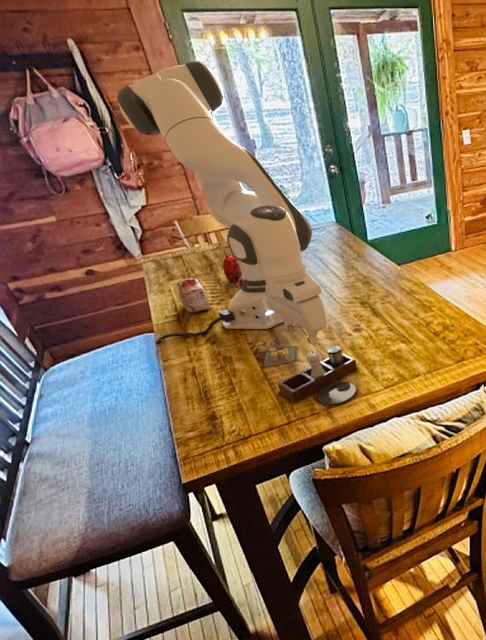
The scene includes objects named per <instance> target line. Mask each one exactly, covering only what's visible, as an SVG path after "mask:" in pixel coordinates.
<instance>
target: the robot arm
mask: <svg viewBox="0 0 486 640" xmlns="http://www.w3.org/2000/svg"><path fill="white" fill-rule="evenodd" d="M116 100H117V102H118V106H119V110H120V113H121V114H122V116H123V118H124V120H125V121H126V122H127V123H128V124H129V125H130V126H131V127H133V129H135V130H137V132H138V133H140V134H141V135H145V136H158V135H161V136H162V137H163V139H164V140H165V142H166V144H167V146H168V147H169V149H170V150H171V152H172V154H173V155H174V157H175V158H176V159H177V161H178V162H179V163H180V164H181V165H182V166H183V167H185V168H186V169H188V170H190V171H191V172H193V174H194V175H195V177H196V178H197V180H198V181H199V184H200V186H201V188H202V191H203V193H204V196H205V199H206V209H207V212H208V214H209V216H210V217H211V218H212V219H213V220H214V221H216V222H217V223H219V224H220V225H222V226H224V227H227V228H229V229H228V232H227V234H226V241H227V245H228V247H229V250H230V252H231V255H233V256H234V257H235V258H236V259H237V260H238V263H239V266H240V269H241V272H242V275H241V278H240V279H239V280H238V281H237V282H236V285H237V287H238V288H239V287H240V290H238V291H237V292H236V293H235V295H234V296H233V297H232V298H231V299H230V301H229V302H228V304H227V309H226V308H224V309H222V310H220V311H217V313H218V316H219V317H218V318H216V319H214V320H213V321H212V322H210V324H209V325H208V327H207V328H205V329H204V330H202V331H198V332H191V331H190V332H189V331H188V332H175V333H174V332H173V333H167V334H164V335H162V336H161V337H159V338H158V339H159V340H158V339H157V340H156V343H155V344H156V345H159V344H161V343H162V342H163V341H164V340H166V339H167V338H175V337H188V336H191V337H198V336H202V335H205V334H207V333H208V332H210V331H211V330H212V329H213V328H214V325H216V324H217V323H219V322H220V321H223V328H224V329H231V330H232V329H233V330H234V329H238V330H240V329H241V330H253V329H254V330H268V329H271V328H273V327H275V326H277V325H279V324H282V323H284V325H285V327H286V330H287V332H289V333H291V334H293V333H296V332H297V331H298V328H297V326H299V327H300V328H303V329H305V331H306V332H307V336H306V340H307V343H308V344H310V345H312V346H313V345H316V344H317V343H319V340H318V339H319V338H318V332H320V331H322V330H324V329H326V327H327V323H328V321H327V318H326V317H327V316H326V311H325V307H324V302H323V300H322V298H321V297H320V295H321V294H322V288H321V285H320V284H319V283H317V282H316V280H315V279H313V277H312V276H311V275H310V273H309V272H307V268H306V265H305V263H304V260H303V259H302V256H301V252H304V251H306V250H307V248H308V247H309V245H310V243H311V240H312V237H313V228H312V226H311V223H310V221H309V219H308V218H307V217H306V215H304V213H302V211H300V209H298V208H297V207H296V205H294V204H293V203H292V202H291V201H290V199H289V198H288V197H287V195H286V194H285V192H284V191H283V190H282V189H281V187H279V185H278V184H277V183H276V181H275V180H274V179H273V178H272V177H271V174H269V173H268V171H267V170H266V169H265V168H264V166H263V165H262V163H261V162H260V161H259V160H258V159H257V158H256V157H255V156H254V155H253V153H252V152H251V151H250V150H248V149H247V148H246V147H243V146H241V145H238V143H236V142H235V141H233V140H232V139H231V138H230V137H228V135H226V133H225V132H224V131H223V130H222V129H221V128H220V127H219V125H218V124H217V122H216V121H215V118H214V117H213V116H212V114H211V113H213V114H214V115H215V114H216V113H217V111H218V110H220V108H222V106H223V104H224V101H225V97H224V90H223V87H222V83H221V82H220V80H219V78H218V77H217V75H216V74H215V73H214V72H213V71H212V70H211V69H210V68H209V67H208V66H207V65H206V64H205V63H203V62H201V61H199V60H192V61H186V62H184V64H180V65H174V66H170V67H168V68H167V67H166V68H164V69H161V70H158V71H156V72H155V73H153V74H150V75H148V76H146V77H144V78H142V79H140V80H138V81H135V82H134V83H132V84H129V83H128V84H126V85H125V86H123V87H122V88H121V89H119V90H118V92H117V96H116ZM242 184H243V185H245V186H246V187H248V188H249V189H250V190H251V191H248V190H246V189H245V188H244V186H243V185H242ZM161 339H162V340H161Z"/></svg>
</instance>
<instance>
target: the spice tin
mask: <svg viewBox="0 0 486 640" xmlns="http://www.w3.org/2000/svg"><path fill="white" fill-rule="evenodd" d="M326 352H327V355H328V358H329V359H330V363H331V367H333V368H334V369H335V368H336V367H338V366H340V365H342V364H344V359H343V354H344V353H343V350H342V347H341V345H333V346H329V347H328V348H327V350H326ZM342 353H343V354H342Z"/></svg>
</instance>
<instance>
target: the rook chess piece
mask: <svg viewBox="0 0 486 640" xmlns="http://www.w3.org/2000/svg"><path fill="white" fill-rule="evenodd" d="M320 358H321V354H320V353H319V352H318V351H314V350H313V351H310V352H308V353H307V357H306V360H307V361H308V364H309V366H310V367H311V370H312V373H311V376H310V377H312V378H313V379H315V378H317V377H319V376H321V375H323V374H325V373H327V372H326V371H325V370H323V368H322V366H321V361H322V360H321V359H320Z"/></svg>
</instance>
